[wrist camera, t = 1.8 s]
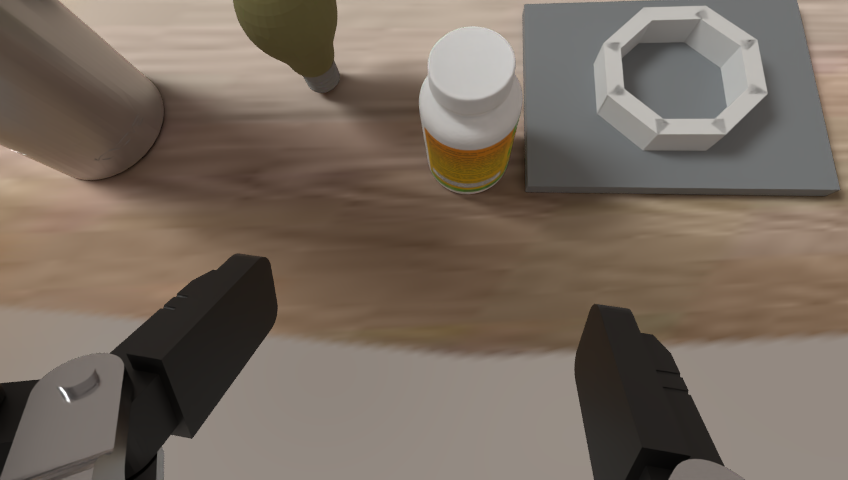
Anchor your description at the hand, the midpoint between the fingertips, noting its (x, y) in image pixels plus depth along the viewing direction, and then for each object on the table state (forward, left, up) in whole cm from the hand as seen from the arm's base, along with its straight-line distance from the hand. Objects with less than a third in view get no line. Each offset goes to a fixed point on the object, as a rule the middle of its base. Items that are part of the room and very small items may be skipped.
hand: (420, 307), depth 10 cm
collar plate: (+3, +21, -15) cm, 26 cm away
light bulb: (-17, +9, -15) cm, 25 cm away
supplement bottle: (-5, +10, -15) cm, 19 cm away
